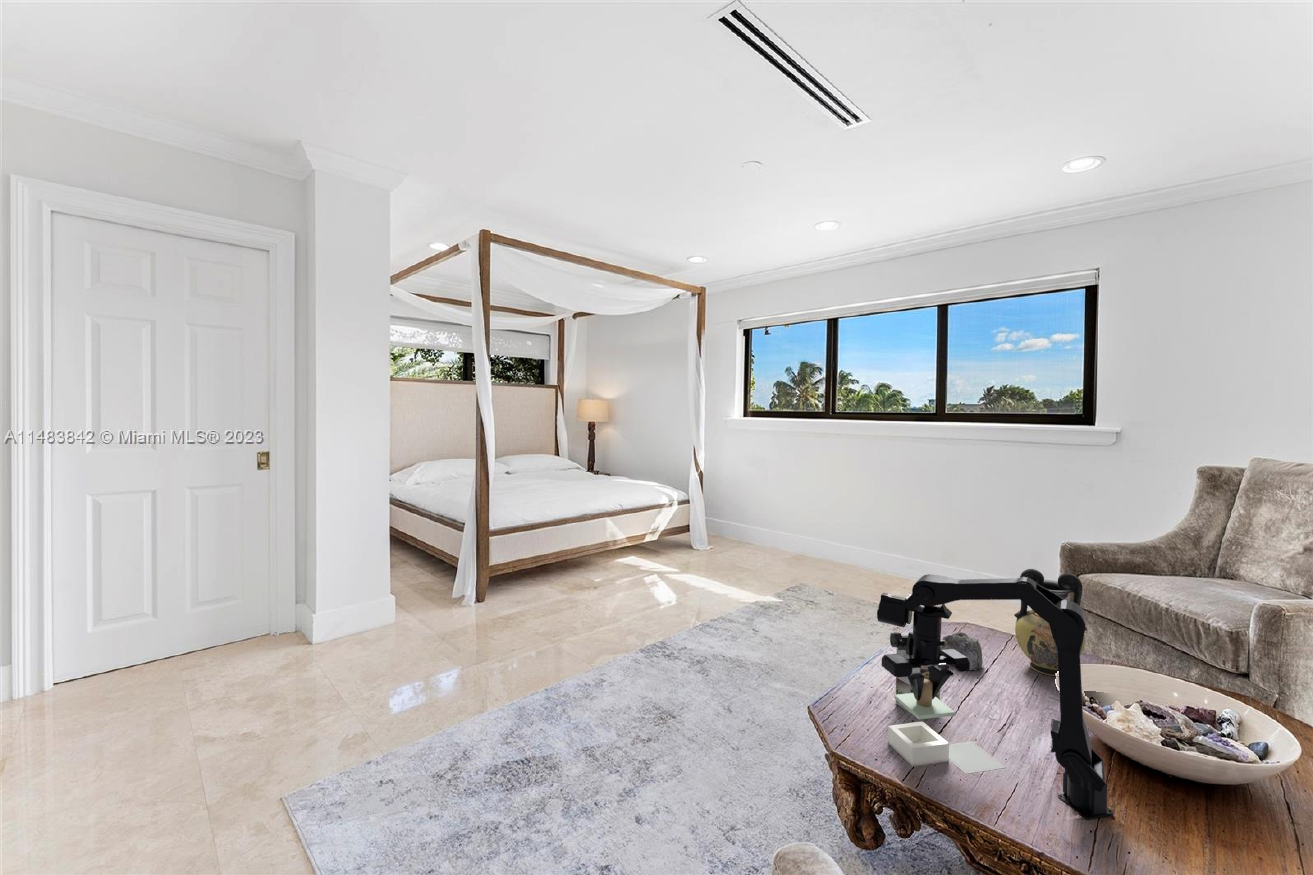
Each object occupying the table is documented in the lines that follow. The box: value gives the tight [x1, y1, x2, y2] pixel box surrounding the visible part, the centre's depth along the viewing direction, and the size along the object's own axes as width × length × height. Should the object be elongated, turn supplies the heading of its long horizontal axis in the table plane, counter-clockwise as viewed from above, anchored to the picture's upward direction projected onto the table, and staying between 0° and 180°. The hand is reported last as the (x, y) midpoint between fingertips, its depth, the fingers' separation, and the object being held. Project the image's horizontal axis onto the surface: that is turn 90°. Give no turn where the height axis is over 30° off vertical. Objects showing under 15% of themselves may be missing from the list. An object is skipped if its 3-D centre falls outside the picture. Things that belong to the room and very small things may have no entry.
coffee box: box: [895, 647, 941, 715], centre depth 148 cm, size 9×6×16 cm
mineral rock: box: [940, 631, 983, 672], centre depth 173 cm, size 13×11×10 cm
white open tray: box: [887, 721, 950, 768], centre depth 128 cm, size 9×9×4 cm
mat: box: [949, 740, 1006, 775], centre depth 126 cm, size 10×10×1 cm
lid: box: [893, 679, 956, 720], centre depth 128 cm, size 9×9×6 cm
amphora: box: [1014, 568, 1088, 677], centre depth 167 cm, size 18×17×30 cm
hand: (924, 699), depth 128 cm, fingers closed on lid, 3 cm apart
